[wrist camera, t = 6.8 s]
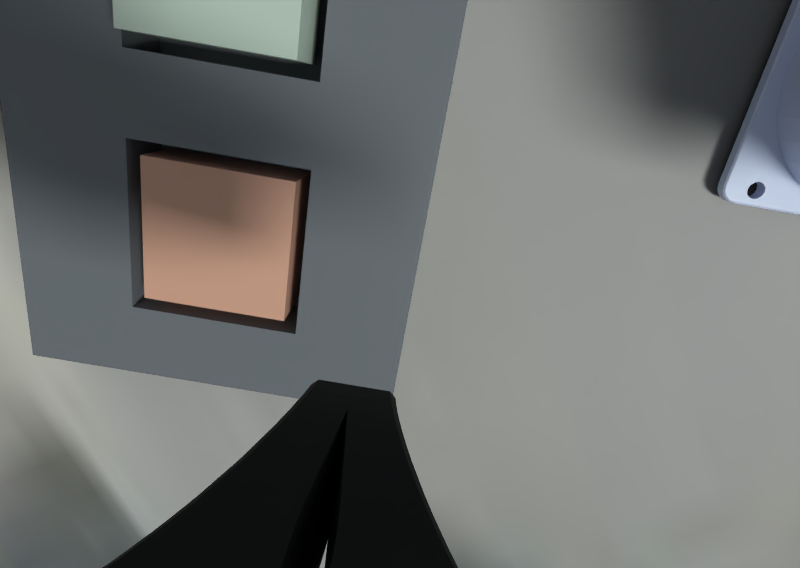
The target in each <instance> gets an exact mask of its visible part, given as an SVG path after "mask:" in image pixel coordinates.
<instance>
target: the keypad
mask: <svg viewBox="0 0 800 568" xmlns="http://www.w3.org/2000/svg"><path fill="white" fill-rule="evenodd" d="M467 1H468V0H320V8H319V19H318V29H317V40H316V51H315V62H314V65H311V64H306V63H300V62H295V61H289V60H283V59H278V58H272V57H267V56H261V55H255V54H250V53H244V52H239V51H233V50H227V49H222V48H216V47H210V46H205V45H199V44H194V43H188V42H182V41H177V40H171V39H166V38H160V37H155V36H150V35H146V34H141V33H136V32H132V31H127V30H122V29H118V28H114V24H113V2H112V0H0V101H1V109H2V117H3V125H4V132H5V140H6V148H7V156H8V163H9V171H10V179H11V187H12V195H13V202H14V210H15V218H16V226H17V234H18V241H19V249H20V257H21V265H22V272H23V280H24V288H25V296H26V304H27V311H28V319H29V327H30V335H31V342H32V350H33V355H37V356H43V357H49V358H55V359H61V360H67V361H74V362H80V363H86V364H92V365H98V366H104V367H110V368H116V369H122V370H128V371H134V372H140V373H146V374H152V375H159V376H165V377H171V378H177V379H183V380H189V381H195V382H201V383H207V384H213V385H219V386H225V387H231V388H238V389H244V390H250V391H256V392H262V393H268V394H274V395H280V396H286V397H292V398H298V399H300V397H301V396H302V395H303V394H304V393H305V392H306V390H307V389H308V388H309V387H310V385H311V384H312V383H314V382H316V381H317V380H325V381H331V382H337V383H343V384H349V385H355V386H361V387H367V388H373V389H379V390H385V391H390V392H391V393H392V394H393V392H394V386H395V381H396V376H397V370H398V365H399V360H400V355H401V349H402V344H403V339H404V333H405V328H406V323H407V318H408V312H409V307H410V302H411V297H412V291H413V286H414V281H415V275H416V270H417V265H418V260H419V254H420V249H421V244H422V238H423V233H424V228H425V223H426V217H427V212H428V207H429V201H430V196H431V191H432V186H433V180H434V175H435V170H436V164H437V159H438V154H439V149H440V143H441V138H442V133H443V127H444V122H445V117H446V112H447V106H448V101H449V96H450V90H451V85H452V80H453V75H454V69H455V64H456V59H457V53H458V48H459V43H460V38H461V32H462V27H463V22H464V16H465V11H466V6H467ZM170 148H178V149H184V150H190V151H196V152H201V153H207V154H213V155H219V156H224V157H230V158H236V159H242V160H247V161H253V162H259V163H265V164H270V165H276V166H282V167H288V168H293V169H299V170H305V171H311V177H310V187H309V197H308V208H307V218H306V228H305V239H304V249H303V260H302V270H301V280H300V291H299V297H298V299H297V300H296V302H295V304H294V305H293V307H292V309H291V310H290V312H289V314H288V315H287V317H286V318H285V320H284V321H280V320H274V319H268V318H262V317H256V316H251V315H245V314H239V313H233V312H227V311H221V310H215V309H209V308H203V307H197V306H191V305H185V304H179V303H173V302H167V301H161V300H155V299H149V298H144V267H143V234H142V202H141V169H140V155H142V154H147V153H152V152H156V151H161V150H166V149H170Z"/></svg>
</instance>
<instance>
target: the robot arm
mask: <svg viewBox="0 0 800 568" xmlns="http://www.w3.org/2000/svg"><path fill="white" fill-rule="evenodd" d="M755 182H756V184H757V190H756V191H755V192H754V194H752V195H750V196H748V194H747V191H748V188H749V187H750V185H751V184H753V183H755ZM717 190H718V195H719V196H720V197H721V198H722V199H723V200H726V201H728V202H731V203H735V204H741V205H747V206H752V207H758V208H764V209H769V210H775V211H781V212H786V213H792V214H798V215H800V0H792V3H791V5H790V7H789V10H788V12H787V15H786V17H785V20H784V22H783V25H782V27H781V30H780V32H779V35H778V37H777V40H776V42H775V45H774V47H773V50H772V52H771V54H770V57H769V59H768V62H767V64H766V67H765V69H764V72H763V74H762V77H761V79H760V82H759V84H758V87H757V89H756V92H755V94H754V97H753V99H752V101H751V104H750V106H749V109H748V111H747V114H746V116H745V119H744V121H743V124H742V126H741V129H740V131H739V134H738V136H737V139H736V141H735V144H734V146H733V148H732V151H731V153H730V156H729V158H728V161H727V163H726V166H725V168H724V171H723V173H722V176H721V178H720V181H719V183H718V188H717ZM327 541H328V544H327ZM326 544H327V553H326V561H325V568H458V567H457V565H456V563H455V561H454V559H453V557H452V555H451V553H450V551H449V549H448V547H447V545H446V542H445V540H444V538H443V536H442V534H441V531H440V529H439V527H438V525H437V523H436V521H435V518H434V516H433V514H432V512H431V509H430V507H429V505H428V502H427V500H426V497H425V495H424V492H423V490H422V487H421V485H420V482H419V479H418V477H417V474H416V471H415V469H414V466H413V464H412V461H411V458H410V455H409V452H408V449H407V446H406V443H405V439H404V436H403V433H402V429H401V425H400V422H399V417H398V413H397V407H396V399H395V397H394V396H393V394H392V393H391V392H390V391H385V390H379V389H373V388H367V387H361V386H355V385H349V384H343V383H337V382H331V381H325V380H317V381H316V382H314V383H312V384H311V385H310V387H309V388H308V389H307V390H306V392H305V393H304V394H303V395H302V396H301V397H300V399H299V400H298V401H297V402H296V403H295V404H294V405H293V407H292V408H291V409H290V410H289V411H288V412H287V413H286V414H285V415H284V416H283V417H282V418H281V419H280V420H279V421H278V422H277V424H276V425H275V426H274V427H273V428H272V429H271V430H270V431H268V432H267V433H266V434H265V435H264V436H263V437H262V438H261V439H260V440H259V441H258V442H257V443H256V444H255V445H254V446H253V447H252V448H251V449H250V450H249V451H248V452H247V453H246V454H245V455H244V456H243V457H242V458H241V459H239V460H238V461H237V462H236V463H235V464H234V465H233V466H232V467H230V468H229V469H228V470H227V471H226V472H225V473H223V474H222V475H221V476H220V477H219V478H218V479H217V480H215V481H214V482H213V483H212V484H211V485H210V486H208V487H207V488H206V489H205V490H204V491H203V492H202V493H200V494H199V495H198V496H197V497H196V498H195V499H193V500H192V501H191V502H190V503H188V504H187V505H186V506H185V507H183V508H182V509H181V510H180V511H178V512H177V513H176V514H175V515H173V516H172V517H171V518H170V519H168V520H167V521H166V522H164V523H163V524H162V525H161V526H159V527H158V528H157V529H155V530H154V531H153V532H151V533H150V534H149V535H147V536H146V537H145V538H143V539H142V540H141V541H139V542H138V543H136V544H135V545H134V546H132V547H131V548H130V549H128V550H127V551H126V552H124V553H123V554H121V555H120V556H119V557H117V558H116V559H115V560H113V561H112V562H110V563H109V564H107V565H106V566H104V567H103V568H319V567H320V564H321V561H322V557H323V554H324V551H325V547H326Z"/></svg>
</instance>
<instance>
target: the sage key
mask: <svg viewBox="0 0 800 568" xmlns="http://www.w3.org/2000/svg"><path fill="white" fill-rule="evenodd" d="M112 2H113V24H114V28H118V29H122V30H127V31H132V32H136V33H141V34H146V35H150V36H155V37H160V38H166V39H171V40H177V41H182V42H188V43H194V44H199V45H205V46H210V47H216V48H222V49H227V50H233V51H239V52H244V53H250V54H255V55H261V56H267V57H272V58H278V59H283V60H289V61H295V62H300V63H306V64H311V65H314V62H315V51H316V40H317V29H318V19H319V8H320V0H112Z"/></svg>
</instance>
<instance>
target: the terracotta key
mask: <svg viewBox="0 0 800 568" xmlns="http://www.w3.org/2000/svg"><path fill="white" fill-rule="evenodd" d="M140 169H141V202H142V234H143V267H144V298H149V299H155V300H161V301H167V302H173V303H179V304H185V305H191V306H197V307H203V308H209V309H215V310H221V311H227V312H233V313H239V314H245V315H251V316H256V317H262V318H268V319H274V320H280V321H284V320H285V318H286V317H287V315H288V314H289V312H290V310H291V309H292V307H293V305H294V304H295V302H296V300H297V299H298V297H299V291H300V280H301V270H302V260H303V249H304V239H305V228H306V218H307V208H308V197H309V187H310V177H311V171H305V170H299V169H293V168H288V167H282V166H276V165H270V164H265V163H259V162H253V161H247V160H242V159H236V158H230V157H224V156H219V155H213V154H207V153H201V152H196V151H190V150H184V149H178V148H170V149H166V150H161V151H156V152H152V153H147V154H142V155H140Z"/></svg>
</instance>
